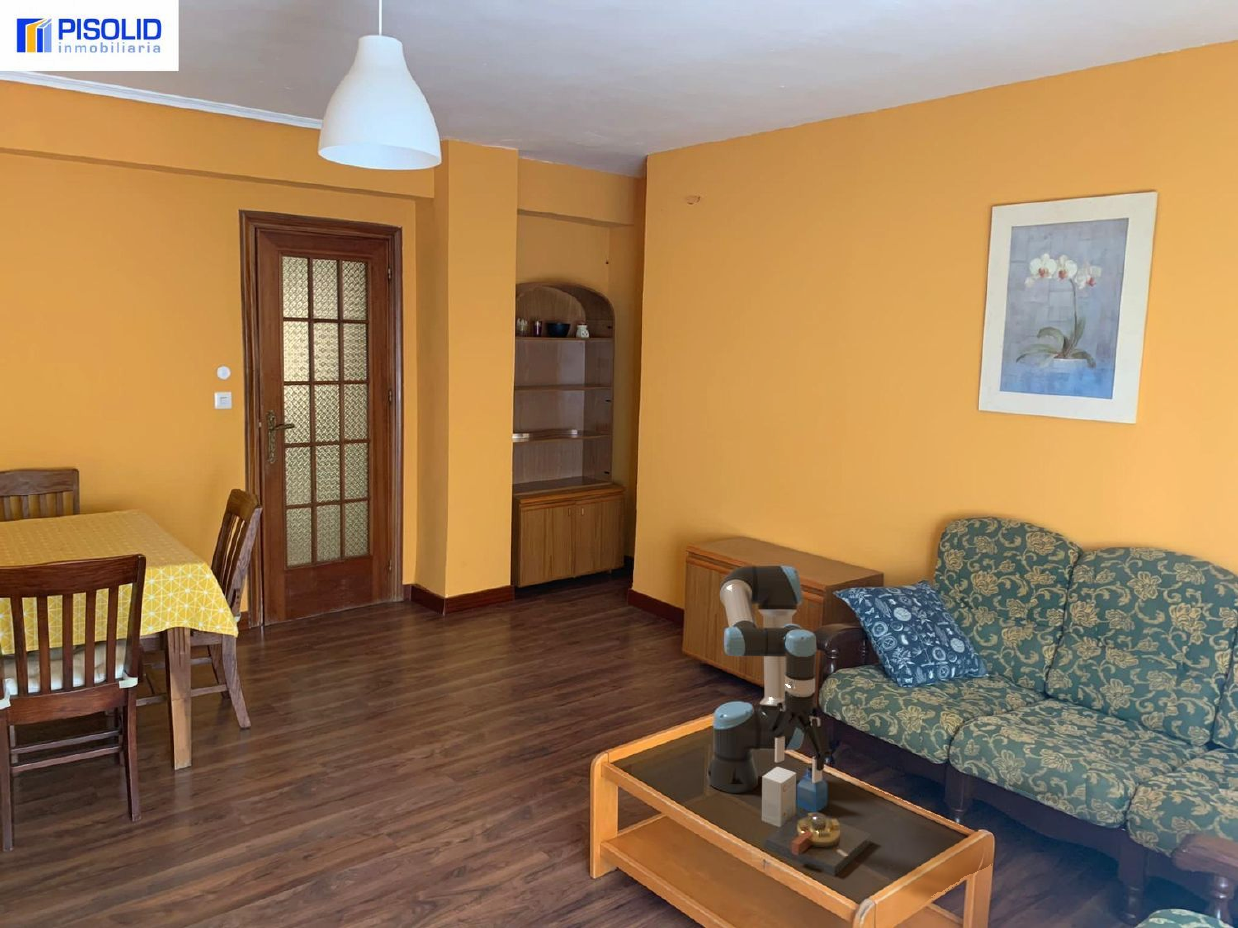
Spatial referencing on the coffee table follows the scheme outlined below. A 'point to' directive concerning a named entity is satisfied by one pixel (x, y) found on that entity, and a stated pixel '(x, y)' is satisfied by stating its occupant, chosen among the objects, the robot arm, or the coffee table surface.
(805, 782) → the perfume bottle
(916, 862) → the coffee table surface
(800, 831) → the gold tabbed disc
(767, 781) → the small box
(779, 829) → the flange plate
